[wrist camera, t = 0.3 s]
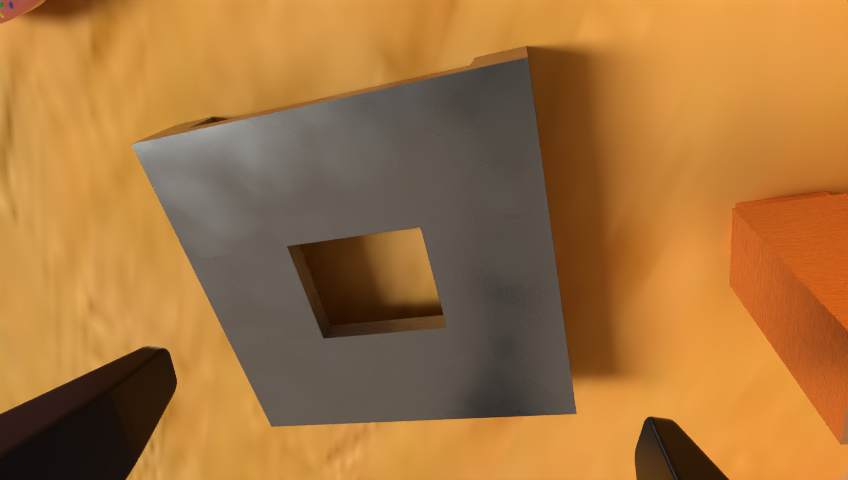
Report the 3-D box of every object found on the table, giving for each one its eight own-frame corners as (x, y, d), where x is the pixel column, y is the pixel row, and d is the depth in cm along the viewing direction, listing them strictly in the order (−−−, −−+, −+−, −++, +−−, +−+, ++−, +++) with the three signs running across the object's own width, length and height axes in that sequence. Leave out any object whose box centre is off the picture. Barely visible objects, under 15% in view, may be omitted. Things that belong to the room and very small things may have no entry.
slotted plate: (570, 369, 26) (576, 413, 23) (293, 386, 30) (271, 426, 27) (526, 46, 19) (527, 57, 16) (175, 125, 23) (131, 144, 20)
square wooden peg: (836, 254, 21) (1052, 439, 12) (717, 266, 22) (840, 444, 13) (847, 175, 19) (1100, 325, 11) (718, 193, 20) (858, 341, 12)
